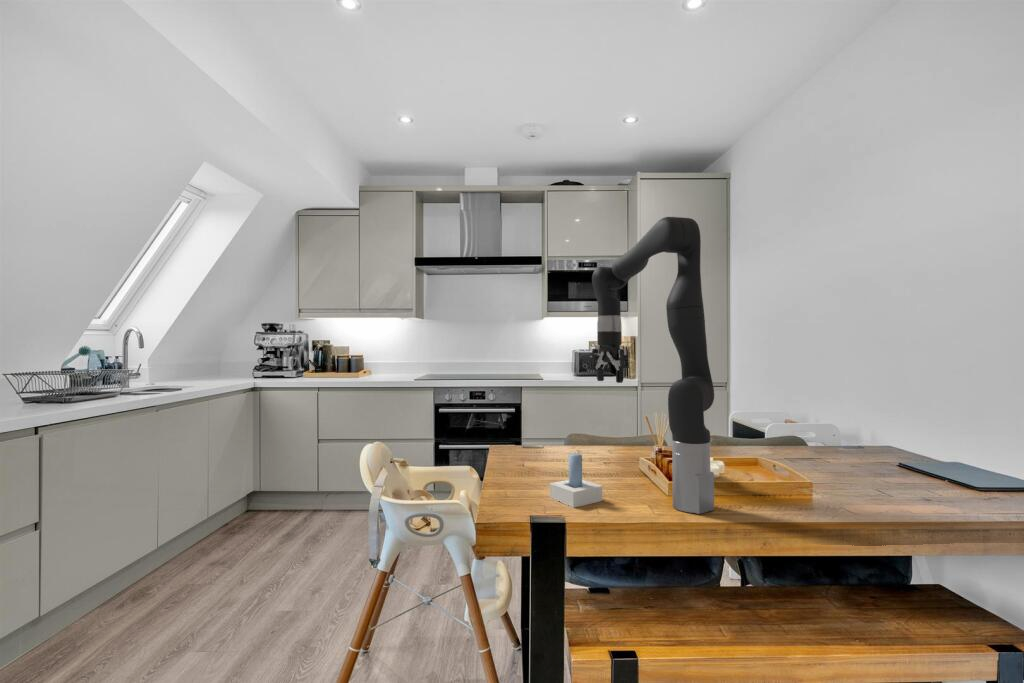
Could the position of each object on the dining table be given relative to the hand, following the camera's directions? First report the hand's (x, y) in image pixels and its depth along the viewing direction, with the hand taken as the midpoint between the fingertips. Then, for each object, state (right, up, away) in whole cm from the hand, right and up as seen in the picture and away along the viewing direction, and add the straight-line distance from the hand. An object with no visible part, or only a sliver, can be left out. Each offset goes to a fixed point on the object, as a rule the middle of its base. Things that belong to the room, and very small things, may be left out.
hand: (609, 381), depth 164 cm
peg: (-14, -30, -23) cm, 40 cm away
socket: (-14, -30, -23) cm, 40 cm away
